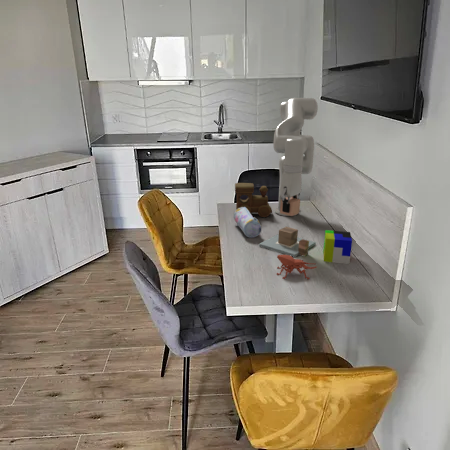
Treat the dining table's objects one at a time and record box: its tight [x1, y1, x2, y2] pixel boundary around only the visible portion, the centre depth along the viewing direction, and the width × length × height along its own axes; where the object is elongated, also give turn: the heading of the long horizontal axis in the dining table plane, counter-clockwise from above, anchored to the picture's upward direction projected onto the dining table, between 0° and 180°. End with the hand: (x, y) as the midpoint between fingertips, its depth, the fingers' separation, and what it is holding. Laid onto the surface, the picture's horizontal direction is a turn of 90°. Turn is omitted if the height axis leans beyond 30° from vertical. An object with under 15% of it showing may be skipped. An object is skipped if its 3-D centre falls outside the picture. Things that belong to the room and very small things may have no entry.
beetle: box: [276, 254, 318, 280], centre depth 150 cm, size 15×12×13 cm
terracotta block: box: [280, 198, 301, 217], centre depth 171 cm, size 6×6×6 cm
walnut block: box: [278, 226, 299, 246], centre depth 176 cm, size 6×6×6 cm
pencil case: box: [233, 207, 262, 238], centre depth 193 cm, size 21×9×10 cm, turn 13°
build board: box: [258, 233, 317, 258], centre depth 177 cm, size 18×18×1 cm
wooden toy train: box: [234, 182, 273, 218], centre depth 215 cm, size 20×11×17 cm, turn 89°
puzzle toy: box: [322, 229, 353, 265], centre depth 164 cm, size 10×10×10 cm
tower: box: [298, 238, 310, 257], centre depth 167 cm, size 3×3×6 cm
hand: (289, 209), depth 171 cm, fingers closed on terracotta block, 6 cm apart
